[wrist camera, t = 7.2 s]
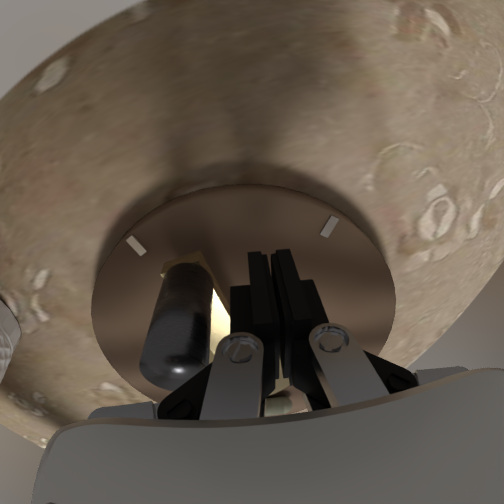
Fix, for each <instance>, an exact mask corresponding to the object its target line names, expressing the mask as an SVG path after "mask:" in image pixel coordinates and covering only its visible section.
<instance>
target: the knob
mask: <svg viewBox="0 0 504 504" xmlns="http://www.w3.org/2000/svg"><path fill="white" fill-rule="evenodd" d="M160 275H161V276H162V278H163V282H162V286H161V289H160V292H159V295H158V298H157V302H156V305H155V308H154V312H153V315H152V318H151V322H150V325H149V329H148V332H147V336H146V340H145V343H144V347H143V351H142V355H141V358H140V362H139V369H140V372H141V374H142V375H143V377H144V378H145V379H146V380H148V381H149V382H150V383H152V384H153V385H155V386H157V387H159V388H162V389H165V390H169V391H175V390H176V389H177V388H179V387H180V386H181V385H183V384H184V383H185V382H187V381H188V380H189V379H191V378H192V377H193V376H195V375H196V374H197V373H198V372H200V371H201V370H202V369H204V368H205V367H206V366H207V365H209V364H210V363H211V362H213V359H214V355H215V351H216V347H217V345H218V343H219V342H220V340H221V339H222V338H224V337H225V336H227V335H229V334H230V305H229V303H228V301H227V299H226V297H225V296H224V294H223V292H222V290H221V288H220V286H219V284H218V283H217V281H216V279H215V277H214V275H213V273H212V271H211V269H210V267H209V266H208V264H207V262H206V260H205V258H204V256H203V254H202V252H201V250H198V251H195V252H193V253H190V254H187V255H185V256H182V257H179V258H177V259H174V260H171V261H169V262H166V263H164V265H163V268H162V271H161V274H160ZM289 385H290V383H289V378H283V374H282V368H281V361H280V366H279V379H276V385H275V390H274V391H273V392H272V393H271V394H270V395H272V394H275V393H277V392H279V391H281V390H283V389H285V388H286V387H288V386H289Z"/></svg>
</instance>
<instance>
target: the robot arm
mask: <svg viewBox="0 0 504 504" xmlns="http://www.w3.org/2000/svg"><path fill="white" fill-rule="evenodd" d="M247 254H248V266H249V279H250V285H239V286H230V334H229V335H227V336H225V337H224V338H222V339H221V340H220V342H219V343H218V345H217V347H216V351H215V355H214V359H213V362H211V363H210V364H209V365H207V366H206V367H205V368H204V369H202V370H201V371H200V372H198V373H197V374H196V375H195V376H193V377H192V378H191V379H189V380H188V381H187V382H185V383H184V384H183V385H181V386H180V387H179V388H177V389H176V390H175V391H173V392H172V393H171V394H169V395H168V396H167V397H165V398H164V399H163V400H162V401H161V403H155V404H153V402H152V401H149V402H142V403H135V404H128V405H120V406H110V407H102V408H98V409H96V410H94V411H93V412H91V414H90V415H89V417H88V419H87V420H82V421H78V422H74V423H71V424H68V425H66V426H64V427H62V428H60V429H59V430H57V431H56V432H55V433H54V434H53V436H52V437H51V439H50V440H49V442H48V444H47V446H46V448H45V451H44V453H43V456H42V459H41V462H40V465H39V468H38V472H37V476H36V480H35V484H34V489H33V494H32V500H31V504H504V369H501V368H480V369H473V370H468V369H467V368H464V367H459V366H456V367H447V368H436V369H424V370H416V371H415V373H411V372H410V371H408V370H407V369H405V368H403V367H400V366H398V365H396V364H393V363H391V362H389V361H387V360H384V359H382V358H380V357H378V356H376V355H373V354H371V353H369V352H367V351H365V350H362V348H361V347H360V345H359V343H358V342H357V340H356V339H355V337H354V336H353V334H352V333H351V332H350V330H349V329H348V328H346V327H344V326H343V325H340V324H336V323H329V320H328V317H327V315H326V312H325V309H324V307H323V304H322V301H321V299H320V296H319V293H318V291H317V288H316V286H315V283H314V281H313V280H312V279H307V280H300V277H299V274H298V271H297V268H296V265H295V262H294V259H293V256H292V253H291V251H290V249H279V250H276V253H274V254H271V273H270V267H269V262H268V257H267V254H262V253H261V251H254V252H247ZM280 361H281V368H282V374H283V378H289V383H290V386H293V387H295V388H297V389H298V390H300V391H302V396H303V400H304V402H305V405H306V407H307V410H308V412H303V413H296V414H288V415H279V416H270V417H265V411H266V398H267V397H268V396H269V395H270V394H271V393H272V392H273V391H274V390H275V385H276V379H279V366H280Z"/></svg>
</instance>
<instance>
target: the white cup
mask: <svg viewBox="0 0 504 504" xmlns="http://www.w3.org/2000/svg"><path fill="white" fill-rule="evenodd" d="M20 336H21V331H20V327H19V324H18V322H17V320H16V319H15V317H14V315H13V314H12V312H11V311H10V309H9V308H8V307H7V306H6V305H5V304H4V303H3V302H2V301H1V300H0V384H1V381H2V379H3V377H4V374H5V372H6V369H7V367H8V365H9V363H10V360H11V358H12V354H13V352H14V350H15V348H16V346H17V344H18V342H19V340H20Z"/></svg>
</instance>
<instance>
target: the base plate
mask: <svg viewBox="0 0 504 504" xmlns="http://www.w3.org/2000/svg"><path fill="white" fill-rule="evenodd" d="M279 249H290V251H291V253H292V256H293V259H294V262H295V265H296V268H297V271H298V274H299V277H300V280H307V279H312V280H313V281H314V283H315V286H316V288H317V291H318V293H319V296H320V299H321V301H322V304H323V307H324V309H325V312H326V315H327V317H328V320H329V323H336V324H340V325H343V326H344V327H346V328H348V329H349V330H350V332H351V333H352V334H353V336H354V337H355V339H356V340H357V342H358V343H359V345H360V347H361V348H362V350H365V351H367V352H369V353H371V354H373V355H376V356H378V355H379V353H380V352H381V350H382V348H383V346H384V345H385V343H386V341H387V339H388V336H389V334H390V331H391V329H392V325H393V321H394V316H395V306H396V296H395V287H394V283H393V279H392V276H391V273H390V270H389V268H388V266H387V264H386V262H385V260H384V258H383V256H382V255H381V253H380V252H379V251H378V250H377V248H376V247H375V246H374V244H373V243H372V242H371V241H370V239H369V238H368V237H367V236H366V235H365V234H364V233H363V231H362V230H361V229H360V228H359V227H358V226H357V225H356V224H355V223H354V222H353V221H351V220H350V219H349V218H348V217H347V216H346V215H345V214H343V213H342V212H340V211H339V210H337V209H335V208H334V207H332V206H331V205H329V204H327V203H326V202H324V201H321V200H319V199H317V198H314V197H312V196H310V195H307V194H305V193H302V192H298V191H294V190H290V189H286V188H282V187H277V186H268V185H259V184H237V185H224V186H218V187H212V188H206V189H201V190H198V191H195V192H192V193H189V194H186V195H183V196H180V197H177V198H175V199H173V200H171V201H169V202H167V203H165V204H163V205H161V206H159V207H157V208H155V209H154V210H153V211H151V212H150V213H148V214H147V215H146V216H144V217H143V218H141V219H140V220H139V221H138V222H136V223H135V224H134V225H133V226H132V227H131V228H130V229H129V230H128V231H127V232H126V233H125V234H124V236H123V237H122V238H121V240H120V241H119V243H118V244H117V245H116V247H115V248H114V250H113V251H112V253H111V254H110V256H109V257H108V259H107V260H106V262H105V263H104V265H103V267H102V269H101V271H100V273H99V275H98V278H97V280H96V282H95V286H94V291H93V295H92V305H91V316H92V323H93V329H94V332H95V335H96V338H97V341H98V344H99V346H100V348H101V350H102V352H103V354H104V355H105V357H106V358H107V360H108V361H109V363H110V364H111V366H112V367H113V368H114V369H115V370H116V371H117V373H118V374H119V375H120V376H121V377H122V378H123V379H124V380H125V381H127V382H128V383H129V384H130V385H131V386H132V387H134V388H135V389H137V390H138V391H139V392H141V393H142V394H144V395H145V396H147V397H149V398H150V399H152V400H154V401H156V402H158V403H161V401H162V400H163V399H164V398H165V397H167V396H168V395H169V394H171V393H172V392H173V391H169V390H165V389H162V388H159V387H157V386H155V385H153V384H152V383H150V382H149V381H148V380H146V379H145V378H144V377H143V375H142V374H141V372H140V369H139V362H140V358H141V355H142V351H143V347H144V343H145V340H146V336H147V332H148V329H149V325H150V322H151V318H152V315H153V312H154V308H155V305H156V302H157V298H158V295H159V292H160V289H161V286H162V282H163V278H162V276H161V275H160V274H161V271H162V268H163V265H164V263H166V262H169V261H171V260H174V259H177V258H179V257H182V256H185V255H187V254H190V253H193V252H195V251H198V250H201V252H202V254H203V256H204V258H205V260H206V262H207V264H208V266H209V267H210V269H211V271H212V273H213V275H214V277H215V279H216V281H217V283H218V284H219V286H220V288H221V290H222V292H223V294H224V296H225V297H226V299H227V301H228V303H229V305H230V286H239V285H250V279H249V266H248V254H247V252H254V251H261V253H262V254H267V257H268V262H269V267H270V273H271V254H274V253H276V250H279ZM306 408H307V407H306V405H305V402H304V400H303V396H302V391H300V390H298V389H297V388H295V387H293V386H290V385H289V386H288V387H286V388H285V389H283V390H281V391H279V392H277V393H275V394H272V395H269V396H268V397H267V398H266V411H265V417H270V416H279V415H288V414H291V413H295V412H298V411H301V410H304V409H306Z"/></svg>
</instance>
